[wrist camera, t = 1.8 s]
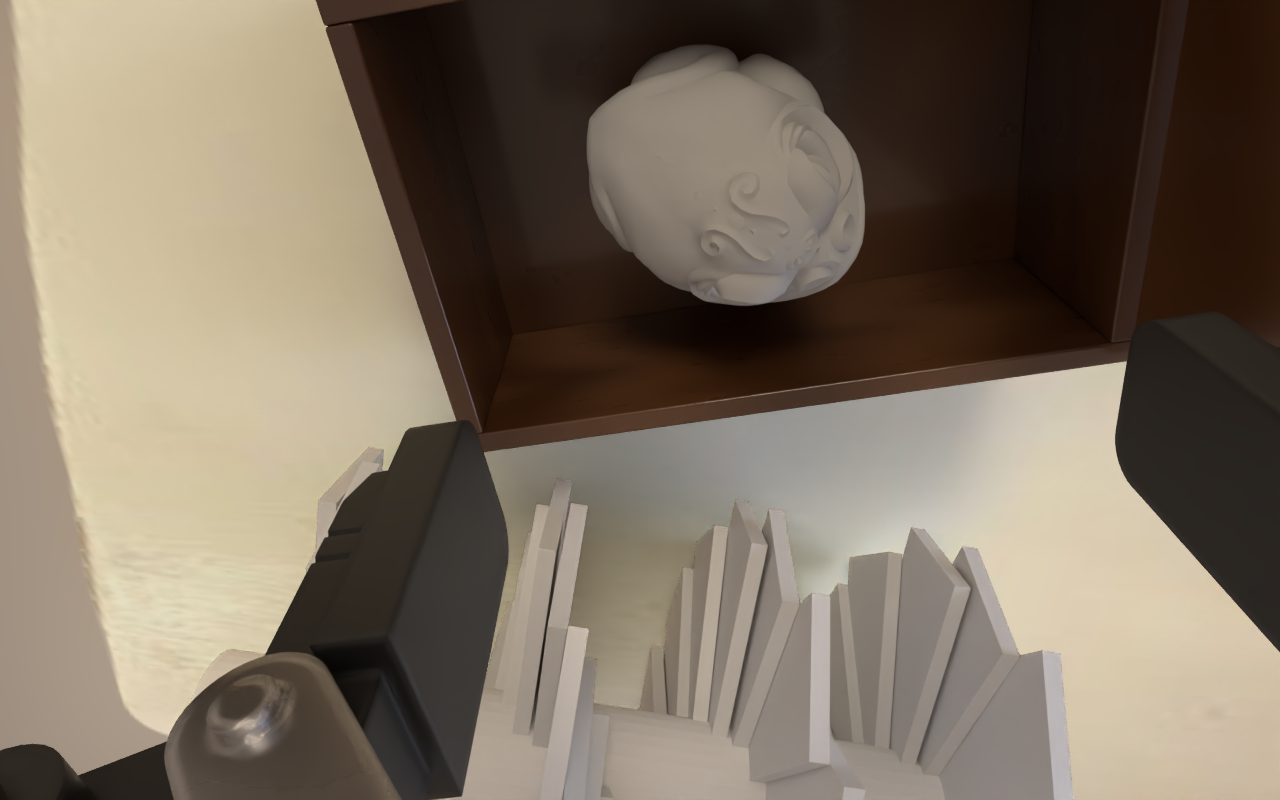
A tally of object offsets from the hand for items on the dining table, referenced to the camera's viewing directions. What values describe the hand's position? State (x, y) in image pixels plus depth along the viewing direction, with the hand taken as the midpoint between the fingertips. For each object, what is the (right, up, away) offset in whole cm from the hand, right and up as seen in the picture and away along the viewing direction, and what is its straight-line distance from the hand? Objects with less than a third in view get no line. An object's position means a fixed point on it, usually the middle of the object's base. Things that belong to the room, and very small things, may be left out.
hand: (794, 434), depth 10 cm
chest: (+1, +8, +14) cm, 16 cm away
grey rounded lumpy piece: (0, +8, +13) cm, 16 cm away
